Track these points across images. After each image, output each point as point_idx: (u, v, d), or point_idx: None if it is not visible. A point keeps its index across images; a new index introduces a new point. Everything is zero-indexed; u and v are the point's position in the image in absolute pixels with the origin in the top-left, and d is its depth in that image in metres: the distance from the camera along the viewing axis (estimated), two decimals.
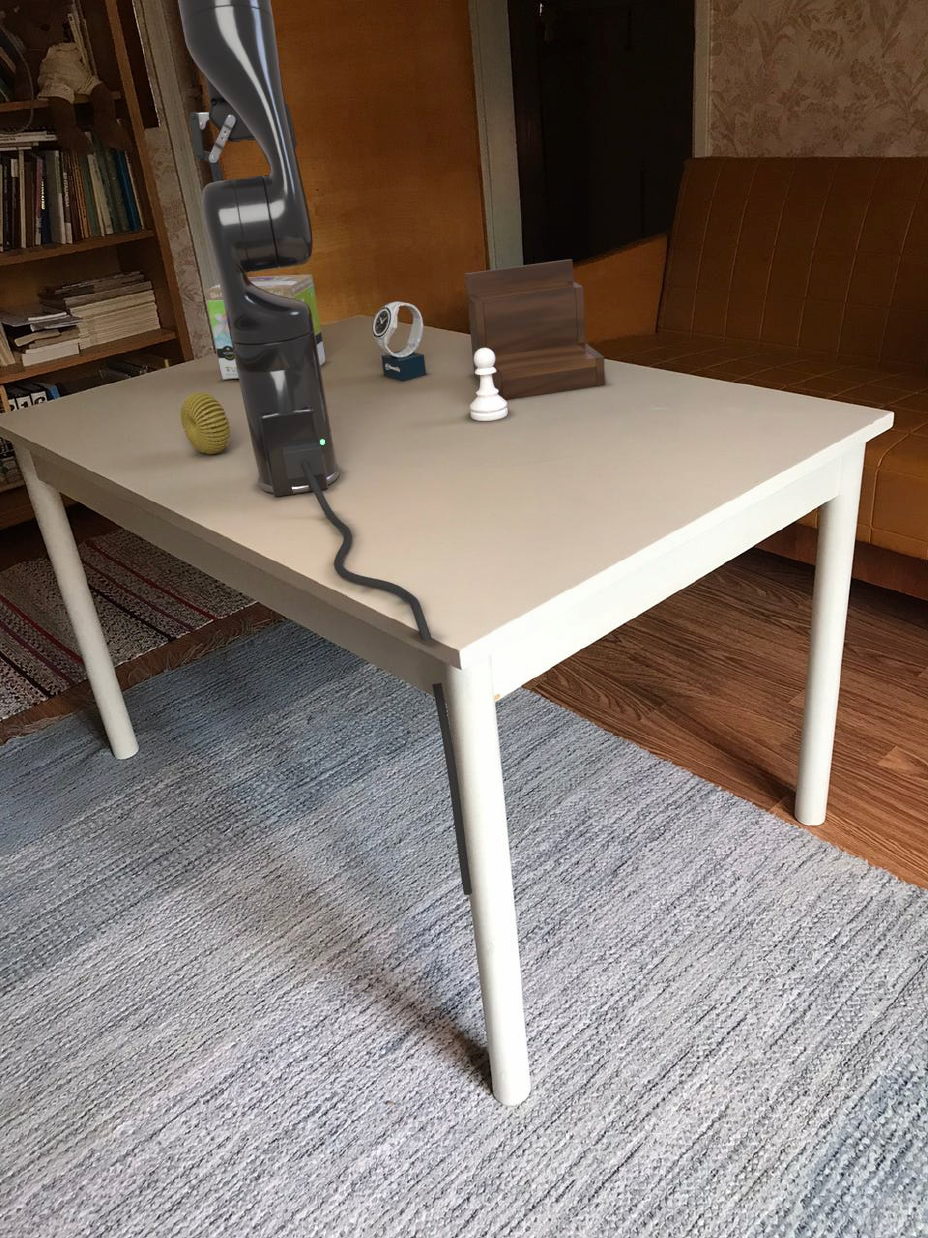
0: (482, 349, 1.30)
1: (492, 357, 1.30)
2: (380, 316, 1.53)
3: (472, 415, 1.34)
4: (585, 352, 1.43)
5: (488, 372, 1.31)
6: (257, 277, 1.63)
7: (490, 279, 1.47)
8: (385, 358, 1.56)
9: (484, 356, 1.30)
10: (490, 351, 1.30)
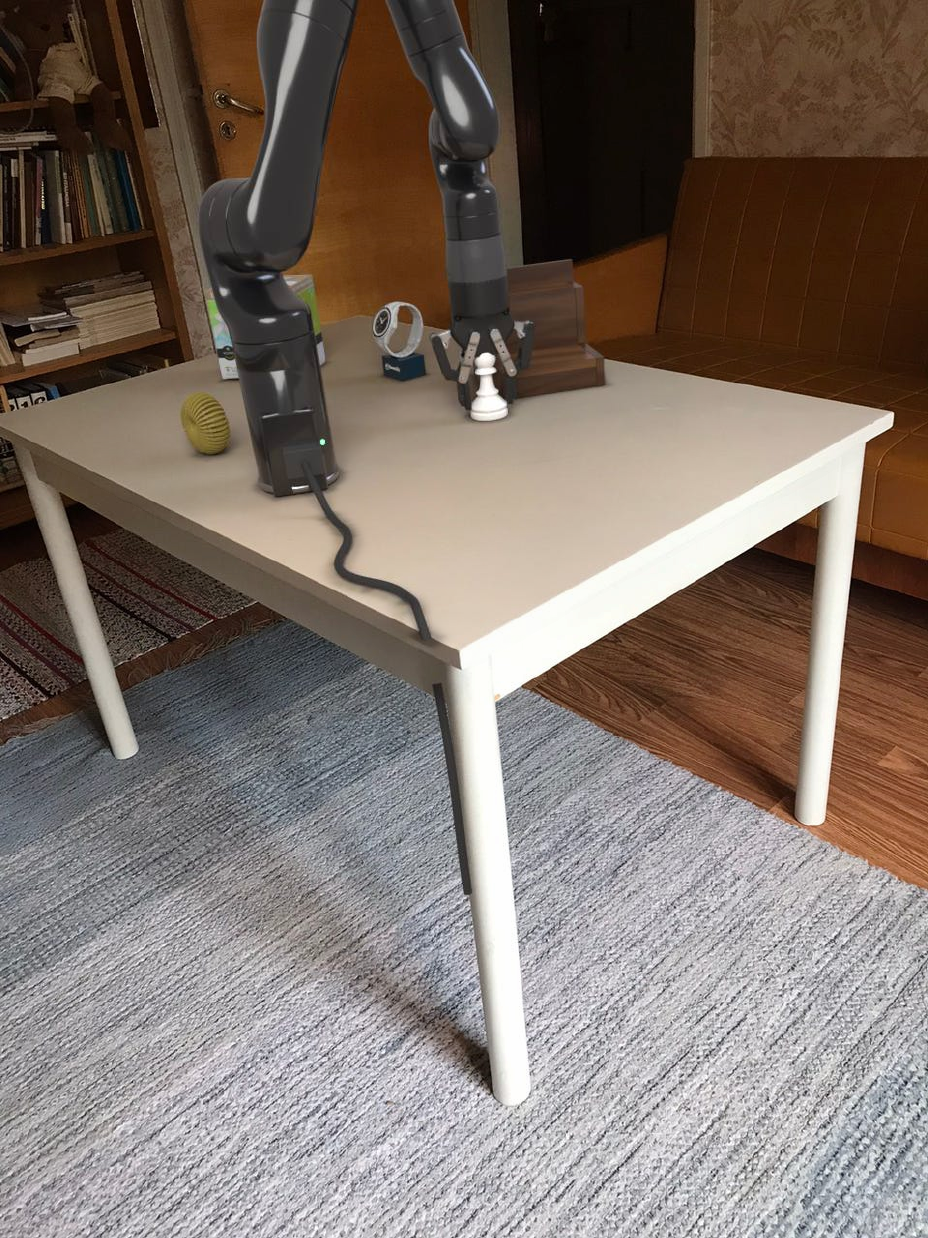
0: None
1: (492, 357, 1.30)
2: (380, 316, 1.53)
3: (472, 415, 1.34)
4: (585, 352, 1.43)
5: (488, 372, 1.31)
6: None
7: None
8: (385, 358, 1.56)
9: (484, 356, 1.30)
10: None
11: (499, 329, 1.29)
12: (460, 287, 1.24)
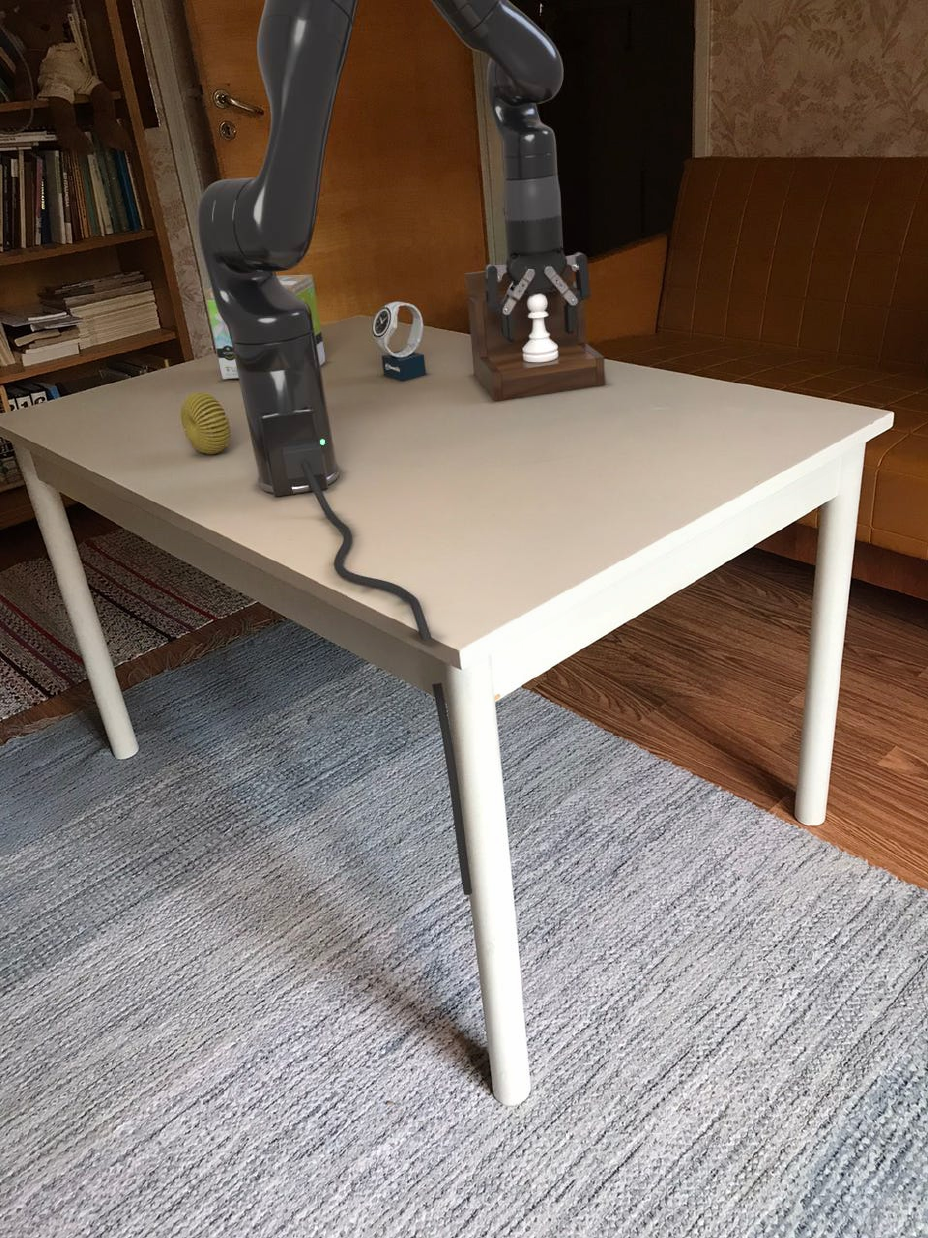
0: (535, 294, 1.38)
1: (545, 301, 1.38)
2: (380, 316, 1.53)
3: (524, 357, 1.42)
4: (585, 352, 1.43)
5: (541, 316, 1.39)
6: None
7: None
8: (385, 358, 1.56)
9: (537, 300, 1.38)
10: (543, 295, 1.38)
11: (552, 265, 1.36)
12: (518, 225, 1.31)
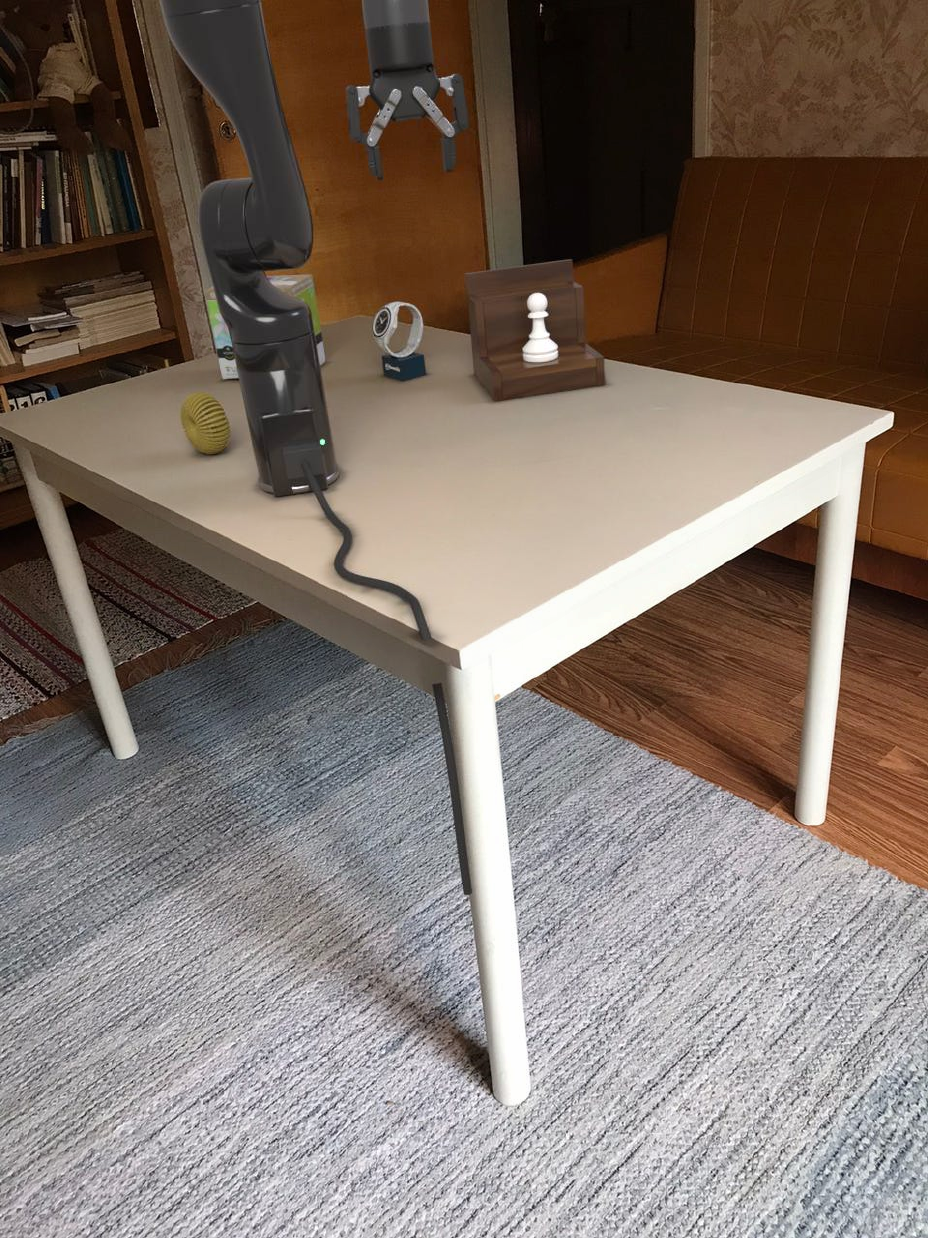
0: (535, 294, 1.38)
1: (545, 301, 1.38)
2: (380, 316, 1.53)
3: (524, 357, 1.42)
4: (585, 352, 1.43)
5: (541, 316, 1.39)
6: None
7: (490, 279, 1.47)
8: (385, 358, 1.56)
9: (537, 300, 1.38)
10: (543, 295, 1.38)
11: (422, 86, 1.18)
12: (377, 32, 1.14)
